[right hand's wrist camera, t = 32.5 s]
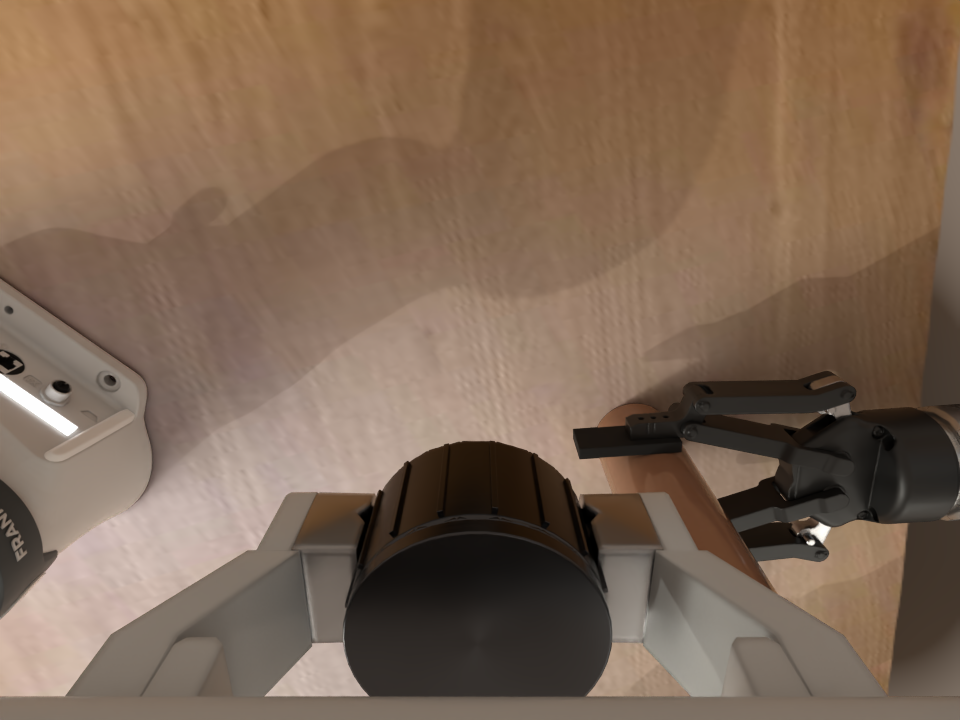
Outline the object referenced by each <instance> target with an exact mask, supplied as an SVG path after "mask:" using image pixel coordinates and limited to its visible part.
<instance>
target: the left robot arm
mask: <svg viewBox="0 0 960 720" xmlns="http://www.w3.org/2000/svg"><path fill="white" fill-rule="evenodd" d="M683 394H684V397H683V399H682V401H681V403H674V404H672V405H671V406H670V407H669V410H668V412H657V413H643V414H632V415H630V416H628V417H625V425H624V426H609V427H595V428H580V429H573V439H574V442H575V446H576V449H577V452H578V456H579V459H590V458H605V457H620V456H635V455H649V454H664V453H679V452H682V441H681V439H680V438H683V437H684V438H685V439H687V440H689V441H694V442H699V443H704V444H708V445H713V446H718V447H723V448H728V449H733V450H738V451H743V452H748V453H753V454H758V455H763V456H768V457H773V458H778V459H779V467H778V469H777V471H776V474H775V476H773V477H770V478H767V479H764V480H761V481H760V482H759V485H758V486H757V487H754V488H751V489H748V490H745V491H741V492H738V493H735V494H732V495H729V496H726V497H722V498H719V499H717V500H718V501H719V503H720V505H721V506H722V508H723V509H724V511H725V512H726V514H727V515H728V517H729V519H730V520H731V522H732V523H733V525H734V526H735V528H736V530H737V531H738V533H739V534H740V536H741V537H742V539H743V540H744V542H745V544H746V545H747V547H748V548H749V550H750V551H751V553H752V555H753V556H754V558H755V559H756V561H757V562H758V561H767V560H776V559H785V558H799V559H805V560H810V561H816V562H821V561H824V560H825V559H826V558H827V557H828V555H829V551H828V550H827V549H826V547H825V546H824V545H823V543H824V541H825V539H826V537H827V535H828V533H829V531H830V529H831V527H839V526H842V525H844V524H846V523H848V522H851V521H854V520H866V521H871V522H876V523H881V524H896V523H911V522H926V521H935V520H939V519H942V520H946V521H952V520H960V404H954V405H940V406H926V407H920V408H916V409H915V408H909V407H904V408H890V409H875V410H863V411H859V412H856V413H855V412H853V411H851V409H850V403H849V402H851V401H852V400H853V399H854V398H855V396H856V390H855V388H854V387H852V386H851V385H849V384H848V383H847V382H845V381H844V380H842V379H841V378H839V377H838V376H836V375H835V374H833V373H832V372H830V371H824V372H821V373H818V374H815V375H812V376H809V377H805V378H802V379H799V380H773V381H719V382H690V383H688V384H686V385H685V386H684V388H683ZM814 412H818V413H820V414H823V415H821V416H820V417H818V418H817V419H815V420H814V421H812V422H810V423H809V424H807V425H806V426H804V427H803V428H801V429H798V428H793V427H789V426H784V425H779V424H774V423H771V424H770V425H766V424H761V423H756V422H751V421H747V420H742V419H737V418H732V417H727V416H722V415H727V414H781V413H814ZM780 494H781V495H782V496H783V497H784V499H785V500H784V499H783V497H782V496H781V495H780ZM806 517H811V518H809V519H808V520H805V521H799V519H802V518H806ZM774 521H780V522H774ZM771 522H773V523H771ZM789 522H790V523H789Z"/></svg>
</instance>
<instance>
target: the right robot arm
mask: <svg viewBox="0 0 960 720" xmlns="http://www.w3.org/2000/svg"><path fill="white" fill-rule="evenodd" d="M110 375H111V376H113V377H114V378H115V379H116V382H114V381H113V380H111V378H110ZM146 401H147V387H146V383H145V381H144V380H143V379H142V377H141V376H140V375H138V374H137V373H136V372H134V371H133V370H131V369H130V368H128V367H127V366H126V365H124V364H123V363H121V362H120V361H118V360H117V359H116V358H114V357H113V356H111V355H110V354H108V353H107V352H105V351H104V350H103V349H101V348H100V347H98V346H97V345H95V344H94V343H92V342H91V341H90V340H88V339H87V338H85V337H84V336H82V335H81V334H79V333H78V332H77V331H75V330H74V329H72V328H71V327H69V326H68V325H67V324H65V323H64V322H62V321H61V320H59V319H58V318H56V317H55V316H54V315H52V314H51V313H49V312H48V311H46V310H45V309H43V308H42V307H41V306H39V305H38V304H36V303H35V302H33V301H32V300H30V299H29V298H28V297H26V296H25V295H23V294H22V293H20V292H19V291H18V290H16V289H15V288H13V287H12V286H10V285H9V284H7V283H6V282H5V281H3V280H2V279H0V619H1V618H2V617H3V616H5V615H6V614H7V613H8V612H9V611H10V610H11V609H12V608H13V607H14V606H15V605H16V604H17V603H18V602H19V601H20V600H21V599H22V598H23V597H24V596H25V595H26V594H27V593H28V592H29V591H30V590H31V588H32V587H33V586H34V585H35V584H36V583H37V582H38V581H39V580H40V579H41V578H42V577H43V576H44V575H45V574H46V573H45V571H46V570H47V569H48V568H49V567H50V565H51V564H52V563H53V562H54V561H55V559H56V557H57V555H58V554H60V553H61V552H62V551H63V550H65V549H66V548H67V547H68V546H70V545H71V544H72V543H74V542H75V541H76V540H78V539H79V538H80V537H82V536H83V535H84V534H86V533H87V532H89V531H90V530H92V529H93V528H95V527H96V526H98V525H100V524H101V523H103V522H105V521H106V520H108V519H110V518H112V517H114V516H116V515H118V514H120V513H122V512H124V511H125V510H127V509H128V508H130V507H131V506H132V505H133V504H134V503H135V502H136V501H137V500H138V499H139V498H140V497H141V495H142V494H143V492H144V491H145V489H146V487H147V484H148V482H149V479H150V476H151V471H152V449H151V444H150V440H149V436H148V433H147V430H146V426H145V422H144V412H145V407H146ZM375 499H376V495H375V494H371V493H322V492H320V493H317V492H291V493H289V494H287V495H286V497H285V498H284V500H283V502H282V504H281V506H280V508H279V510H278V511H277V513H276V515H275V517H274V519H273V521H272V522H271V524H270V526H269V528H268V530H267V532H266V534H265V535H264V537H263V539H262V541H261V543H260V545H259V546H258V548H257V550H250V551H246V552H245V553H243V554H241V555H240V556H238V557H236V558H235V559H233V560H232V561H230V562H228V563H227V564H225V565H223V566H222V567H220V568H218V569H217V570H215V571H214V572H212V573H210V574H209V575H207V576H205V577H204V578H202V579H201V580H199V581H197V582H196V583H194V584H192V585H191V586H189V587H188V588H186V589H184V590H183V591H181V592H179V593H178V594H176V595H175V596H173V597H171V598H170V599H168V600H166V601H165V602H163V603H161V604H160V605H158V606H157V607H155V608H153V609H152V610H150V611H148V612H147V613H145V614H144V615H142V616H140V617H139V618H137V619H135V620H134V621H132V622H131V623H129V624H127V625H126V626H124V627H122V628H121V629H119V630H117V631H116V632H114V633H113V634H111V635H110V637H109V638H108V639H107V641H106V642H105V643H104V645H103V646H102V647H101V649H100V650H99V651H98V653H97V654H96V655H95V657H94V658H93V659H92V661H91V662H90V663H89V665H88V666H87V668H86V669H85V670H84V672H83V673H82V674H81V676H80V677H79V678H78V680H77V681H76V682H75V684H74V685H73V686H72V688H71V689H70V690H69V692H68V693H67V695H66V696H0V720H960V697H888V696H887V694H886V693H885V692H884V690H883V689H882V687H881V686H880V685H879V683H878V682H877V680H876V679H875V678H874V676H873V675H872V674H871V672H870V671H869V669H868V668H867V667H866V665H865V664H864V663H863V661H862V660H861V658H860V657H859V656H858V654H857V653H856V651H855V650H854V649H853V647H852V646H851V645H850V643H849V642H848V640H847V639H846V638H845V636H844V635H842V634H841V633H839V632H838V631H836V630H834V629H833V628H831V627H830V626H828V625H826V624H825V623H823V622H821V621H820V620H818V619H817V618H815V617H813V616H812V615H810V614H809V613H807V612H805V611H804V610H802V609H801V608H799V607H797V606H796V605H794V604H793V603H791V602H789V601H788V600H786V599H784V598H783V597H781V596H780V595H778V594H776V593H775V592H773V591H772V590H770V589H768V588H767V587H765V586H764V585H762V584H760V583H759V582H757V581H755V580H754V579H752V578H751V577H749V576H747V575H746V574H744V573H743V572H741V571H739V570H738V569H736V568H735V567H733V566H731V565H730V564H728V563H727V562H725V561H723V560H722V559H720V558H718V557H717V556H715V555H714V554H712V553H710V552H709V551H706V550H698V548H697V546H696V545H695V543H694V541H693V539H692V537H691V535H690V533H689V531H688V530H687V528H686V526H685V524H684V522H683V520H682V518H681V517H680V515H679V513H678V511H677V509H676V507H675V505H674V503H673V502H672V500H671V498H670V496H669V494H667V493H665V492H647V493H626V494H580V497H579V503H580V506H581V509H582V513H583V516H584V520H585V523H587V524H589V525H590V542H591V546H592V550H593V553H594V557H595V561H596V564H597V568H602V570H603V573H604V577H605V580H606V584H607V588H608V593H604V594H605V597H606V601H607V605H608V608H609V612H610V616H611V620H612V632H613V636H612V642H620V643H643V646H644V647H645V648H646V649H647V650H648V651H649V652H650V653H651V654H652V655H653V657H654V658H655V659H656V660H657V661H658V662H659V663H660V664H661V665H662V666H663V667H664V668H665V669H666V670H667V671H668V672H669V673H670V675H671V676H672V677H673V678H674V679H675V680H676V681H677V682H678V683H679V684H680V685H681V686H682V687H683V688H684V689H685V690H686V691H687V693H688V694H689V695H690V696H691V697H407V696H371V697H264V696H265V695H266V694H267V693H268V692H269V691H270V690H271V689H272V688H273V686H274V685H275V684H276V683H277V682H278V681H279V680H280V679H281V678H282V677H283V676H284V675H285V674H286V673H287V672H288V671H289V670H290V669H291V668H292V667H293V666H294V665H295V663H296V662H297V661H298V660H299V659H300V658H301V657H302V656H303V655H304V654H305V653H306V652H307V651H308V650H309V649H310V648H311V647H312V643H335V642H343V622H344V617H345V613H346V609H347V608H345V602H346V598H347V595H348V591H349V587H350V584H351V582H354V580H355V576H356V573H357V569H358V568H357V564H358V560H359V557H360V553H361V549H362V546H363V542H364V539H365V535H366V532H367V528H368V524H369V521H370V517H371V514H372V510H373V507H374V503H375Z"/></svg>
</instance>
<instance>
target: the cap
mask: <svg viewBox="0 0 960 720" xmlns="http://www.w3.org/2000/svg"><path fill="white" fill-rule="evenodd" d="M357 568H358V569H357V573H356V576H355V580H354V582H351V584H350V587H349V591H348V595H347V598H346V602H345V608H347V609H346V613H345V617H344V622H343V644H344V651H345V655H346V658H347V661H348V665H349V667H350V669H351V671H352V673H353V675H354V677H355V678H356V680H357V681H358V683H359V684H360V686H361V687H362V688H363V690H364V691H365V692H366V693H367V694H368V695H369V696H370V697H371V696H407V697H585V696H586V695H587V694H588V693H589V692H590V691H591V690H592V688H593V687H594V686H595V684H596V683H597V681H598V680H599V678H600V677H601V675H602V673H603V671H604V669H605V667H606V664H607V662H608V658H609V655H610V651H611V646H612V636H613V632H612V620H611V616H610V612H609V608H608V605H607V601H606V597H605V594H604V593H608V588H607V584H606V580H605V577H604V573H603V570H602V568H597V564H596V561H595V557H594V553H593V550H592V546H591V542H590V525H589V524H587V523H585V520H584V516H583V513H582V509H581V506H580V503H579V501H578V499H577V496H576V494H575V493H574V491H573V489H572V486H571V483H570V480H569V479H568V478H566V479H564V477H563V476H562V475H561V474H560V473H559V472H558V471H557V470H556V469H555V468H554V467H552V466H551V465H550V464H548V463H547V462H545V461H544V460H542V459H541V458H539V457H538V455H537V454H535V453H531V452H528V451H527V450H524V449H520V448H517V447H514V446H511V445H507V444H503V443H500V442H495V441H462V442H456V443H453V444H444V446H441V447H438V448H435V449H431V450H429V451H426V452H425V453H423V454H422V455H420V456H418V457H416V458H415V459H413V460H412V461H410V462H409V461H407V462H405V463H404V466H403V467H402V468H401V469H400V470H398V472H397V473H396V474H395V475H394V476H393V477H392V478H391V479H390V480H389V482H388V483H387V484H386V485H385V487H384V489H383V490H382V491H381V490H379V491H378V493H377V496H376V499H375V503H374V507H373V510H372V514H371V517H370V521H369V524H368V528H367V532H366V535H365V539H364V542H363V546H362V549H361V553H360V557H359V560H358V564H357Z"/></svg>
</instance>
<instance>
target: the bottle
mask: <svg viewBox="0 0 960 720" xmlns="http://www.w3.org/2000/svg"><path fill="white" fill-rule="evenodd" d="M657 412H659V411H658V410H656V409H655V408H653V407H651V406H648V405H645V404H627V405H623V406H620V407H617V408H615V409H614V410H612V411H610V412H609V413H608V414H607V415H606V416H605V417H604V418H603V419H602V420H601V421H600V423H599V425H598V427H609V426H624V425H625V417H628V416H630V415H632V414H643V413H657ZM600 461H601V464H602V467H603V469H604V472H605V475H606V478H607V480H608V483H609V486H610V489H611V492H612V494H626V493H647V492H665V493H667V494H669V496H670V498H671V500H672V502H673V503H674V505H675V507H676V509H677V511H678V513H679V515H680V517H681V518H682V520H683V522H684V524H685V526H686V528H687V530H688V531H689V533H690V535H691V537H692V539H693V541H694V543H695V545H696V546H697V548H698V550H706V551H709V552H710V553H712V554H714V555H715V556H717V557H718V558H720V559H722V560H723V561H725V562H727V563H728V564H730V565H731V566H733V567H735V568H736V569H738V570H739V571H741V572H743V573H744V574H746V575H747V576H749V577H751V578H752V579H754V580H755V581H757V582H759V583H760V584H762V585H764V586H765V587H767V588H768V589H770V590H772V591H773V592H775V593H776V594H777V592H776V591H775V589H774V587H773V586H772V584H771V583H770V581H769V580H768V578H767V576H766V575H765V573H764V572H763V570H762V569H761V567H760V566H759V564H758V562H757V561H756V559H755V558H754V556H753V555H752V553H751V551H750V550H749V548H748V547H747V545H746V544H745V542H744V540H743V539H742V537H741V536H740V534H739V533H738V531H737V530H736V528H735V526H734V525H733V523H732V522H731V520H730V519H729V517H728V515H727V514H726V512H725V511H724V509H723V508H722V506H721V505H720V503H719V501H718V500H717V498H716V497H715V495H714V494H713V492H712V490H711V489H710V487H709V486H708V484H707V483H706V481H705V480H704V478H703V476H702V475H701V473H700V472H699V470H698V469H697V467H696V465H695V464H694V462H693V461H692V459H691V458H690V456H689V454H688V453H687V451H686V450H685V448H684V447H683V445H682V452H679V453H664V454H649V455H635V456H620V457H605V458H600Z"/></svg>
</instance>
